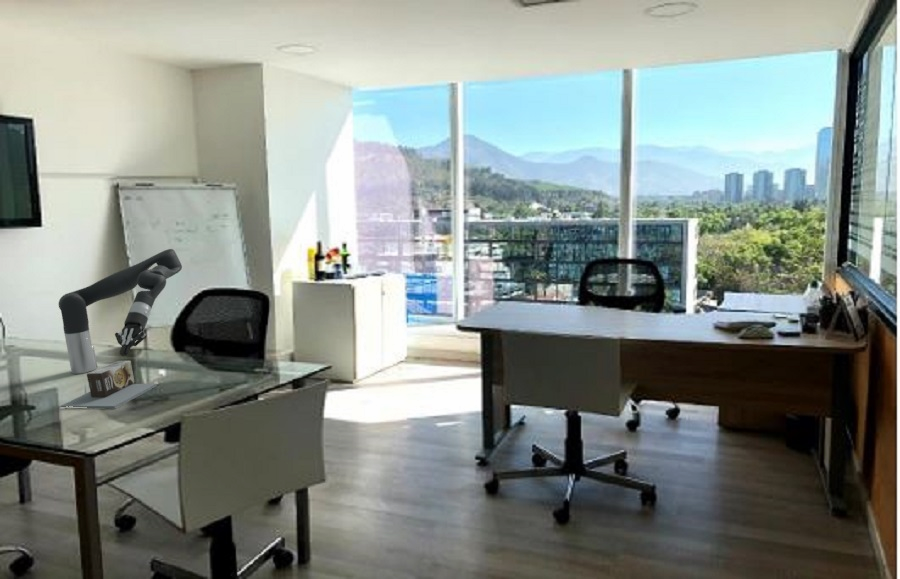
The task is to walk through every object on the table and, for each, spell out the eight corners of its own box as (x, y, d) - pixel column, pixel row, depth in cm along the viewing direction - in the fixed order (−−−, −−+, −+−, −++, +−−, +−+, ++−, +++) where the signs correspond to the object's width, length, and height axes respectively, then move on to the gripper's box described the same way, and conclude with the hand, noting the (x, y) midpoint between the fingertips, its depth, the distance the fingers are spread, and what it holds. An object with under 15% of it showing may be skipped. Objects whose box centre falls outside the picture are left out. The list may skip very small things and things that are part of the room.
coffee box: (135, 382, 262) (105, 398, 247) (121, 383, 263) (90, 398, 248) (131, 360, 260) (101, 373, 245) (116, 360, 262) (85, 374, 246)
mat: (105, 386, 264) (105, 384, 264) (156, 386, 260) (156, 383, 259) (59, 409, 241) (59, 406, 241) (115, 408, 236) (114, 406, 236)
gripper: (158, 320, 269) (144, 359, 260) (128, 321, 272) (113, 360, 262) (148, 310, 263) (133, 350, 254) (117, 311, 266) (101, 350, 256)
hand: (123, 355), depth 258 cm, fingers closed
